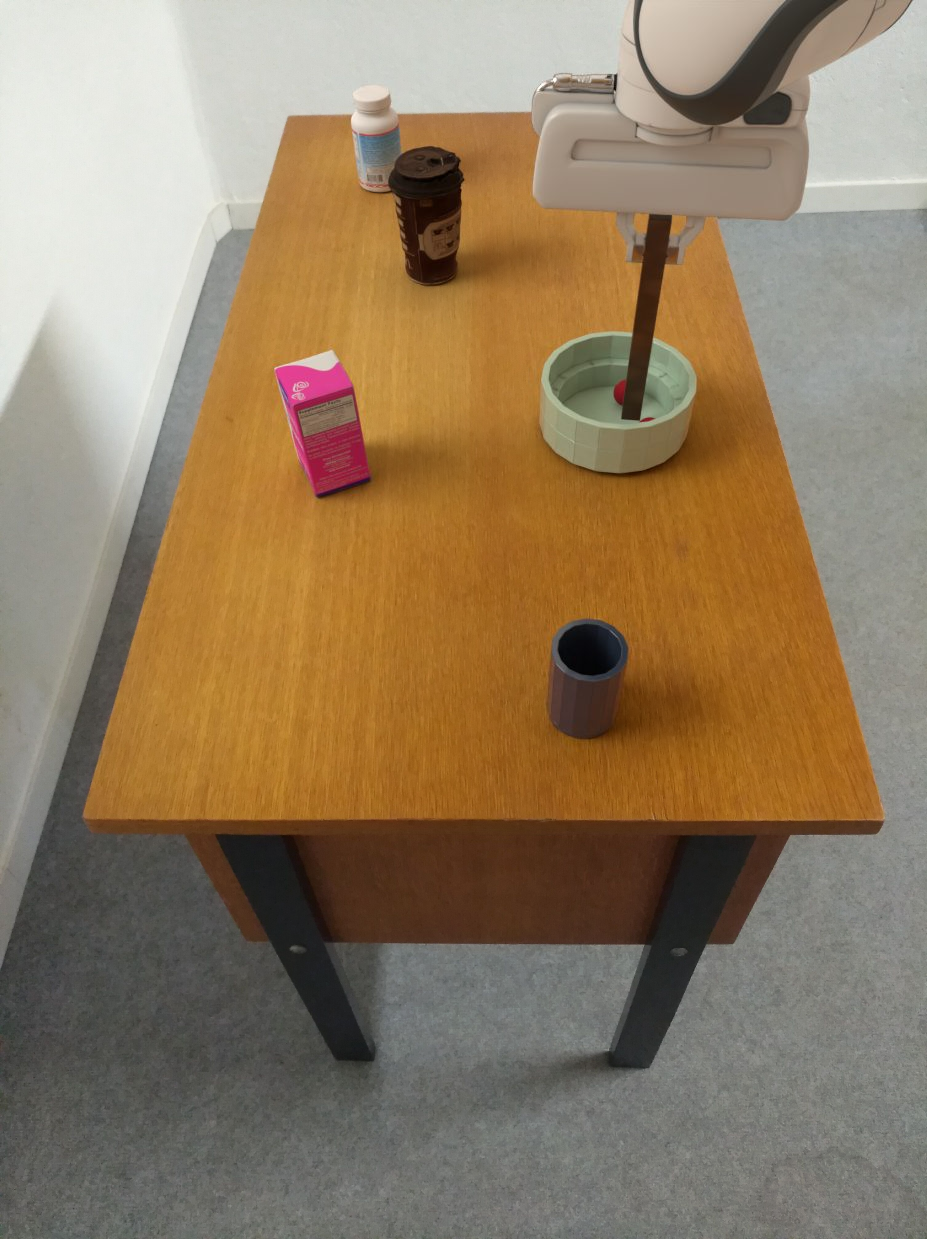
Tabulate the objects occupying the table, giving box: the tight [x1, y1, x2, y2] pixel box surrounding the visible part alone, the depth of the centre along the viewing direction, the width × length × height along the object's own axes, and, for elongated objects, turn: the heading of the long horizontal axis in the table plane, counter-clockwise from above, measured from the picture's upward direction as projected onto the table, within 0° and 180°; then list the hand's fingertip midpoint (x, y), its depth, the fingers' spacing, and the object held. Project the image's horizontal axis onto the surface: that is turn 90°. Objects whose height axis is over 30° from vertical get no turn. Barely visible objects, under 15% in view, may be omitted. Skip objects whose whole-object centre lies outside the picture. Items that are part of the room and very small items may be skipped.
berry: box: [613, 380, 626, 406], centre depth 89 cm, size 3×3×3 cm
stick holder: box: [546, 617, 630, 740], centre depth 66 cm, size 5×5×8 cm
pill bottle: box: [350, 84, 403, 193], centre depth 115 cm, size 6×6×11 cm
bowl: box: [538, 330, 698, 474], centre depth 86 cm, size 14×14×6 cm
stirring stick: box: [621, 214, 673, 421], centre depth 78 cm, size 2×2×20 cm
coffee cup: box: [388, 145, 466, 285], centre depth 101 cm, size 9×8×13 cm
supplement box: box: [273, 349, 372, 499], centre depth 82 cm, size 6×6×12 cm
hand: (654, 260), depth 73 cm, fingers closed on stirring stick, 2 cm apart
